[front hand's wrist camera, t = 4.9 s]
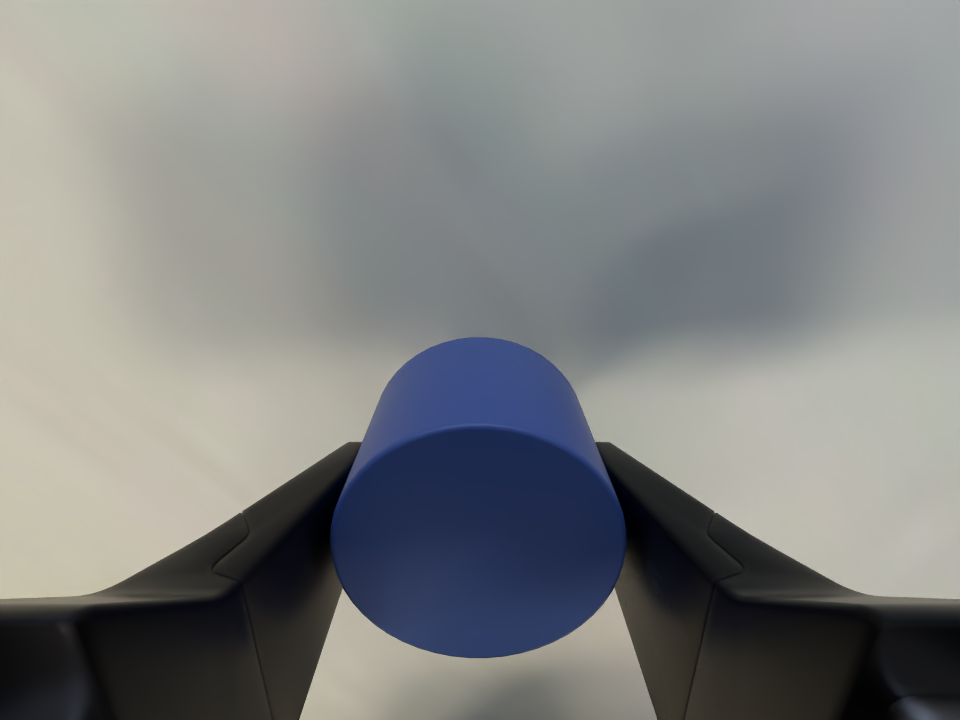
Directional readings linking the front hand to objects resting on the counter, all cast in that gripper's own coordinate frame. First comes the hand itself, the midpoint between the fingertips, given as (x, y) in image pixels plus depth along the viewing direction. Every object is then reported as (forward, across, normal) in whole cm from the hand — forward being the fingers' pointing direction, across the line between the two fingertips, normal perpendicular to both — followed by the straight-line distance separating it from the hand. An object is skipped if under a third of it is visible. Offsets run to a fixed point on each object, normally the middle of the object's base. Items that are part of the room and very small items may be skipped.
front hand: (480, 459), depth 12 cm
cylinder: (+1, 0, 0) cm, 1 cm away
